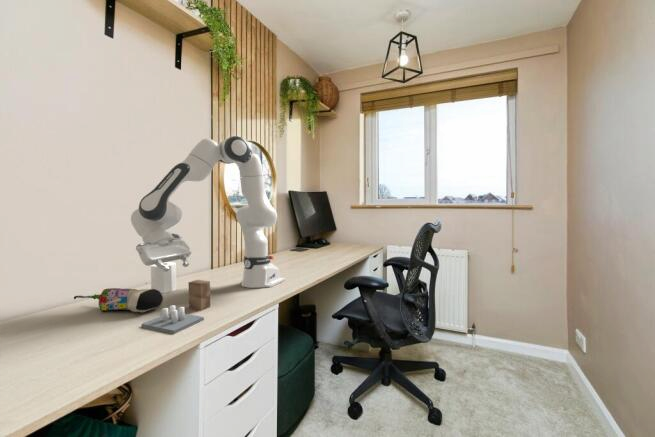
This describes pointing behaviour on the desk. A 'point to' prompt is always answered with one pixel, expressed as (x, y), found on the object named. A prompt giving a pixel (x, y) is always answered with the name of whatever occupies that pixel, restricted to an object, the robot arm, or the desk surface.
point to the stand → (172, 320)
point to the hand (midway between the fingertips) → (177, 268)
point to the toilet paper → (163, 278)
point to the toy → (128, 299)
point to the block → (199, 295)
